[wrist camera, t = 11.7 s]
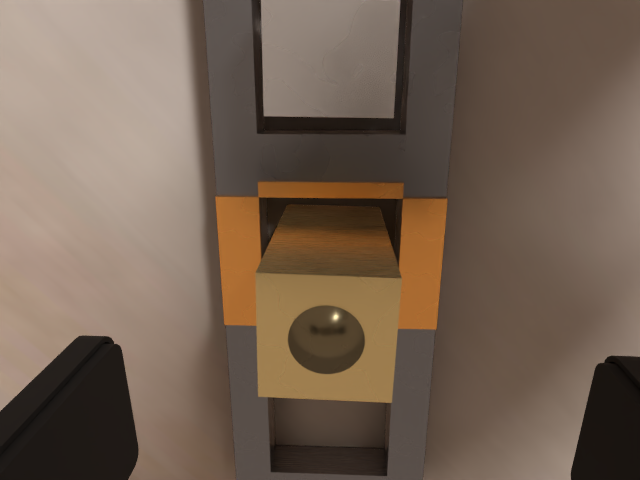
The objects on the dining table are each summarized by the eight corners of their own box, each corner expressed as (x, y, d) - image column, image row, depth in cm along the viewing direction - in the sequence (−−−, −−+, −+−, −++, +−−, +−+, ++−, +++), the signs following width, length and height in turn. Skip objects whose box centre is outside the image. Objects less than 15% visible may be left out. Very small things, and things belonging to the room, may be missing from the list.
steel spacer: (385, 2, 18) (402, -30, 13) (380, 110, 19) (393, 118, 14) (281, 1, 18) (260, -30, 13) (282, 109, 19) (263, 116, 15)
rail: (458, -77, 17) (472, -98, 15) (415, 476, 25) (421, 508, 23) (211, -73, 17) (195, -93, 15) (244, 470, 25) (236, 501, 23)
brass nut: (379, 207, 20) (402, 278, 13) (374, 291, 22) (391, 403, 14) (287, 204, 21) (255, 273, 13) (287, 288, 22) (257, 397, 14)
